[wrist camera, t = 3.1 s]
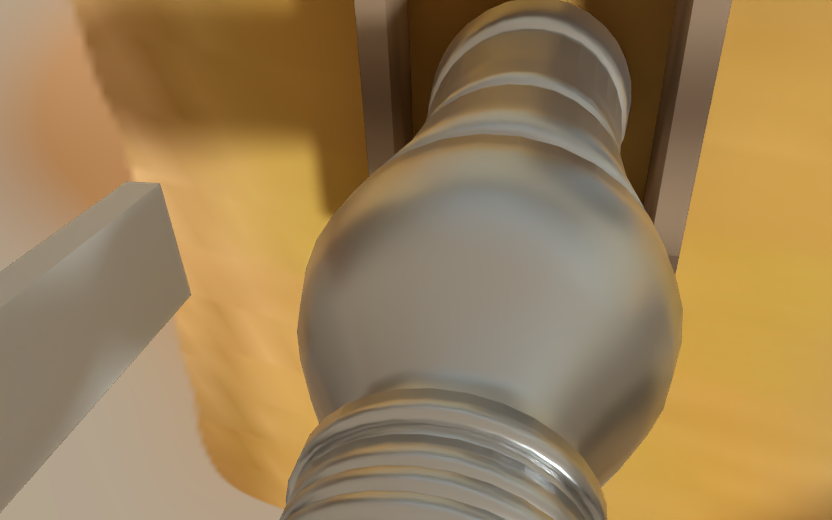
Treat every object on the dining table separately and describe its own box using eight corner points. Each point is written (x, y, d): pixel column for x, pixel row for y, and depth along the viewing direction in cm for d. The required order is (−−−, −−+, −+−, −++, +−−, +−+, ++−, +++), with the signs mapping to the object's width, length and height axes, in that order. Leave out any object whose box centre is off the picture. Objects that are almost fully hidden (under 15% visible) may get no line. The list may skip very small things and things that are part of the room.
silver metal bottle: (661, 22, 21) (1010, 617, 4) (575, 194, 25) (578, 865, 8) (479, -44, 21) (117, 277, 4) (421, 137, 25) (108, 680, 8)
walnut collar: (663, 239, 25) (673, 280, 22) (394, 221, 27) (375, 257, 24) (730, -114, 19) (755, -112, 16) (373, -100, 21) (346, -96, 18)
